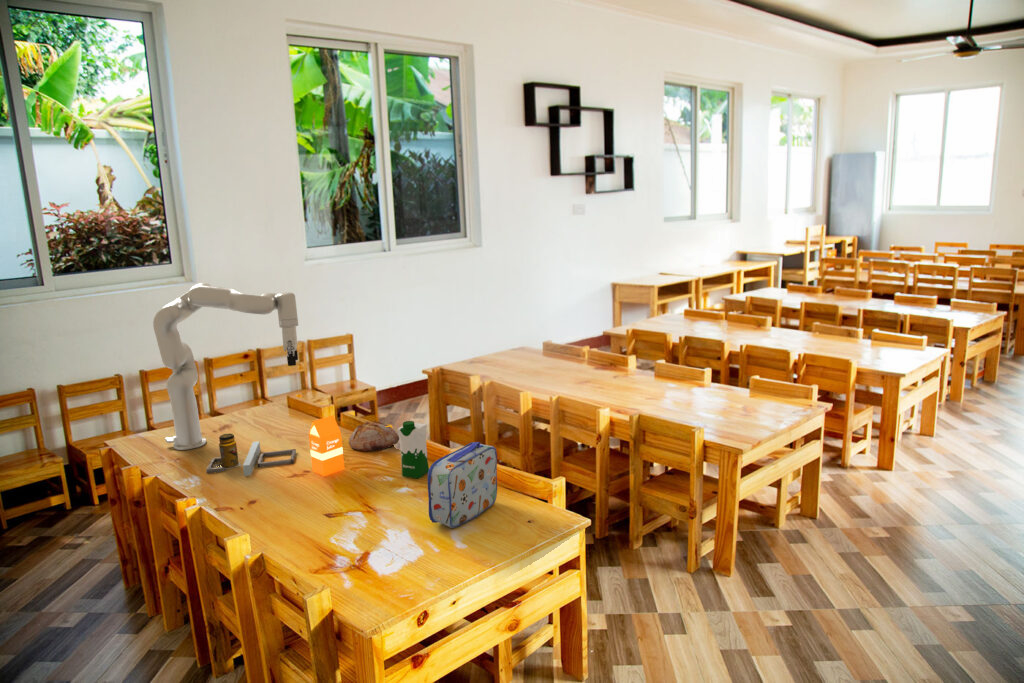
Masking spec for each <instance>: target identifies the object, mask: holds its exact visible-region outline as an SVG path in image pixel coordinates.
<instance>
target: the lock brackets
mask: <svg viewBox="0 0 1024 683" xmlns="http://www.w3.org/2000/svg"><path fill="white" fill-rule="evenodd" d="M296 454H297V449H296V448H293V449H283V450H275V451H274V450H273V451H265V452H260V454H259V456H258V459H257V462H256V467H257V468H267V467H275V466H285V465H291V464H292V465H293V464H294V462H295V458H296ZM286 455H291V456H290V459H289V458H288V459H281V460H272V461H263V460H264V458H267V457H268V458H270V457H276V456H286ZM210 460H211V461H210V462H209V463H208V466H207V467H206V470H205V472H206V474H207V473H208V474H215V473H214V472H216V473H224V472H223V471H225V472H226V470H227V469H225V467H218V468H216V467H215V465H216V463H222V462H221V456H220V457H213V458H211V459H210ZM215 462H216V463H215Z"/></svg>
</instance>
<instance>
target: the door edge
mask: <svg viewBox="0 0 1024 683" xmlns="http://www.w3.org/2000/svg"><path fill="white" fill-rule="evenodd" d="M261 450H262V449H261V443H260V441H259V440H258V441H252V443H251V446H250V448H249V451H248V453H247V456H246V458H245V460H244V462H243V464H242V469H243V470H242V471H243V476H244V477H247V476H252V474H253V472H254V469H255V466H256V465H257V462H258V460H259V457H260V454H261Z"/></svg>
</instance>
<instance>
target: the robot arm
mask: <svg viewBox="0 0 1024 683" xmlns="http://www.w3.org/2000/svg"><path fill="white" fill-rule="evenodd" d="M202 308H211V309H212V308H213V309H222V310H229V311H230V310H231V311H233V312H239V313H245V314H246V313H247V314H250V315H251V314H252V315H269V314H271V313H272V312H273V311H277V317H278V324H279V327H278V328H281V333H282V334H281V335H282V346H283V352H286V353H287V354H286V358H287V366H288V367H292V366H297V361H298V360H299V357H298V350H297V349H298V348H297V347H298V336H297V326H299V317H298V310H297V301H296V295H295V293H293V292H287V291H286V292H281V293H275V292H272V293H271V292H265V293H262V294H261V295H254V294H246V293H242V292H239V291H237V290H236V289H234V288H230V287H221V286H219V287H218V286H212V285H210V284H209V283H205V282H200V283H196V284H195V285H192V286H191V287H190V288H189V290H188V291H186V292H185V293H184V294H182V295H180V296H179V297H177V298H176V299H174V300H173V301H170V302H169V303H166V305H164V306H163V307H161V308H160V309H159V310H158V311H157V312H156V314H155V315H154V317H153V321H152V325H153V331H154V335H155V338H156V343H157V346H158V349H159V350H158V351H159V353H160V358H161V361H162V363H163V365H164V366H165V367H167V369H170V370H171V372H172V374H171V375H169V376H168V379H167V381H166V390H167V394H168V397H169V402H170V407H171V413H172V419H173V425H174V432H175V435H174V436H173V437H171V436H169V437H165V438H164V440H165V443H167V444H171V443H173V445H172V448H173V449H175V450H177V451H185V450H193V449H197V448H200V447H202V446H204V445H206V443H207V438H205V437H202V431H201V423H200V418H199V417H200V416H199V409H198V403H197V399H196V394H195V391H194V390H195V389H194V387H195V386H196V384H197V383H198V379H199V372H198V368H197V364H196V361H195V358H194V357H195V356H194V354H193V351H192V349H191V347H190V346H189V345H188V344H187V343H185V342H183V341H182V340H181V335H180V333H179V331H178V328H177V325H178V324H179V323H181V322H182V321H185V320H186V319H188V318H189V317H191V316H192V315H193V314H194V313H196V312H197V311H199V310H200V309H202Z"/></svg>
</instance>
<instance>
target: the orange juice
mask: <svg viewBox="0 0 1024 683" xmlns="http://www.w3.org/2000/svg"><path fill="white" fill-rule="evenodd" d="M341 432H342V431H341V429H340V427H339V426H338V423H337V420H336V418H335V416H334V415H329V416H326V417H323V418H319V419H316V420H313V421H312V423H311V426H310V429H309V432H308V439H309V448H310V449H309V450H310V451H309V453H310V459H311V466H312V467H311V468H312V472H314V473H315V474H317V475H320V476H322V477H327V476H329V475H331V474H335V473H338V472H340V471H343V470H344V469H345V459H344V450H343V442H342V441H343V440H342V433H341Z"/></svg>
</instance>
